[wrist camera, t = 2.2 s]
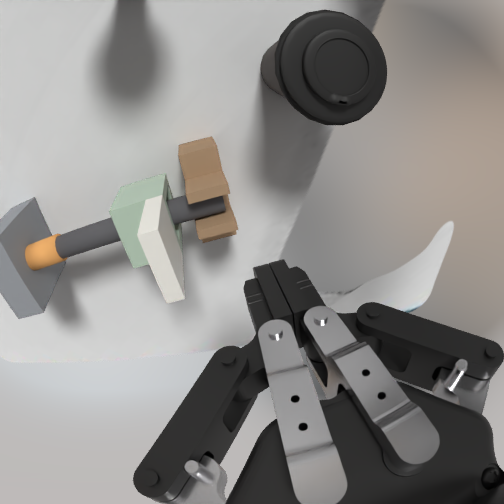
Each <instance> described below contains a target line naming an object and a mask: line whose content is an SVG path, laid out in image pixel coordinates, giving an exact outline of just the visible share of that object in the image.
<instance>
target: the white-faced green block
mask: <svg viewBox="0 0 504 504" xmlns="http://www.w3.org/2000/svg"><path fill="white" fill-rule="evenodd" d="M170 199H173V196H172V193H171V190H170V186H169V183H168V180H167V176H166V173H164V174H161V175H158V176H154V177H151V178H148V179H144V180H141V181H138V182H135V183H132V184H129V185H126V186H123V187H121V188H120V190H119V192H118V194H117V196H116V198H115V200H114V202H113V204H112V206H111V208H110V211H109V213H110V215H111V218H112V220H113V223H114V225H115V227H116V230H117V232H118V234H119V237H120V239H121V241H122V244H123V246H124V248H125V251H126V253H127V255H128V257H129V259H130V262H131V264H132V266H133V268H138V267H142V266H145V265H150V267H151V270H152V272H153V274H154V276H155V279H156V281H157V283H158V285H159V288H160V290H161V292H162V294H163V296H164V298H165V301H166V303H171V302H175V301H179V300H183V299H185V289H184V273H183V253H182V226H181V223H179V224H176V225H174V224H173V221H172V218H171V214H170V211H169V208H168V205H167V202H166V201H167V200H170Z"/></svg>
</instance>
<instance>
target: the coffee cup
mask: <svg viewBox="0 0 504 504" xmlns="http://www.w3.org/2000/svg"><path fill="white" fill-rule="evenodd" d="M261 74H262V76H263V79H264V81H265V83H266V84H267V85H268V86H269V88H271V89H272V90H274V91H275V92H277V93H278V94H280V95H282V96H283V97H285V98H287V100H288V101H289V102H290V104H291V105H292V106H293V108H294V109H296V110H297V111H299V112H300V113H301V114H303V115H304V116H305V117H307V118H308V119H310V120H313V121H316V122H319V123H322V124H325V125H345V124H348V123H351V122H354V121H357V120H359V119H361V118H362V117H363V116H365V115H366V114H367V113H369V112H370V111H371V110H372V109H373V108H374V106H375V105H376V104H377V103H378V101H379V100H380V98H381V96H382V94H383V91H384V89H385V85H386V79H387V65H386V60H385V56H384V53H383V50H382V48H381V46H380V44H379V42H378V41H377V39H376V38H375V36H374V35H373V34H372V33H371V32H370V30H369V29H368V28H366V27H365V26H364V25H363V24H362V23H361V22H360V21H358V20H356V19H354V18H352V17H350V16H348V15H346V14H344V13H342V12H336V11H330V10H320V11H314V12H308V13H306V14H304V15H302V16H300V17H299V18H297V19H295V20H294V21H292V22H291V23H290V24H289V26H288V27H287V28H286V29H285V30H284V32H283V33H282V34H281V36H280V38H279V40H278V41H277V42H276V43H275V44H274V45H272V46H271V47H270V48H269V49H268V50H267V51H266V53H265V54H264V55H263V58H262V62H261Z"/></svg>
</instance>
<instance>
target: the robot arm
mask: <svg viewBox="0 0 504 504" xmlns="http://www.w3.org/2000/svg"><path fill="white" fill-rule="evenodd" d="M253 271H254V276H255V278H254V279H251V280H247V281H245V285H244V293H245V297H246V301H247V305H248V309H249V313H250V316H251V319H252V322H253V325H254V328H255V331H256V335H255V337H254V339H253V340H252V341H251V342H250V343H249V344H247V345H245V346H244V347H242V348H239V347H236V346H227V347H223V348H221V349H219V350H218V351H217V352H216V353H215V354H214V355H213V357H212V358H211V360H210V361H209V363H208V364H207V366H206V367H205V369H204V370H203V372H202V373H201V375H200V376H199V378H198V379H197V381H196V382H195V384H194V386H193V387H192V388H191V390H190V391H189V393H188V394H187V396H186V397H185V399H184V400H183V402H182V404H181V405H180V406H179V408H178V409H177V411H176V412H175V414H174V415H173V417H172V418H171V420H170V421H169V423H168V424H167V426H166V427H165V429H164V430H163V432H162V433H161V434H160V436H159V437H158V439H157V440H156V442H155V443H154V445H153V446H152V448H151V449H150V450H149V452H148V453H147V455H146V456H145V458H144V459H143V460H142V462H141V463H140V465H139V466H138V468H137V469H136V471H135V473H134V477H133V481H134V485H135V487H136V489H137V490H138V492H140V493H141V494H142V495H144V496H146V497H149V498H151V499H152V500H154V501H156V502H159V503H162V504H504V471H503V470H502V469H501V468H500V467H499V466H498V464H497V461H496V457H495V453H494V445H493V433H492V428H491V426H490V424H489V422H488V420H487V419H486V418H485V417H484V416H483V415H482V412H483V408H484V404H485V400H486V396H487V392H488V387H489V383H490V379H491V378H492V376H493V375H494V374H495V372H496V371H497V369H498V368H499V367H500V365H501V364H502V362H503V359H504V353H503V350H502V348H501V347H500V345H499V344H497V343H496V342H494V341H491V340H488V339H485V338H482V337H479V336H476V335H473V334H470V333H467V332H464V331H461V330H458V329H455V328H452V327H448V326H446V325H442V324H440V323H436V322H433V321H430V320H427V319H424V318H421V317H418V316H415V315H412V314H409V313H406V312H403V311H400V310H397V309H394V308H391V307H388V306H385V305H382V304H379V303H375V302H369V303H365V304H363V305H361V306H360V307H359V308H358V310H357V313H346V314H342V313H336V312H335V311H334V310H333V309H331V308H329V307H326V305H325V304H324V302H323V300H322V299H321V297H320V295H319V294H318V292H317V290H316V289H315V287H314V286H313V284H312V283H311V281H310V280H309V278H308V276H307V274H306V273H305V272H304V271H303V270H302V269H300V268H298V267H293V268H290V269H289V268H288V266H287V264H286V262H285V261H284V260H279V261H275V262H272V263H269V264H265V265H261V266H257V267H254V268H253ZM302 347H304V349H305V351H306V359H307V362H308V364H309V366H310V367H311V369H312V371H313V373H314V375H315V376H316V378H317V380H318V382H319V383H320V385H321V387H322V389H323V390H324V393H325V395H326V399H327V400H320V401H319V399H318V396H317V393H316V390H315V387H314V384H313V381H312V379H311V375H310V372H309V369H308V367H307V365H305V364H304V362H303V359H302V356H301V353H300V350H299V348H302ZM393 377H394V378H397V379H400V380H402V381H405V382H408V383H410V384H413V385H416V386H419V387H421V388H424V389H427V390H430V391H432V392H433V395H431V394H429V393H426V392H424V391H422V390H419V389H416V388H414V387H412V386H409V385H407V384H404V383H402V382H398V381H395V379H394V378H393ZM269 386H270V391H271V395H272V399H273V404H274V408H275V412H276V416H277V419H275V420H274V421H273V422H271V423H270V424H269V425H268V426H267V427H266V428H265V429H264V430H263V431H262V433H261V434H260V436H259V437H258V439H257V441H256V443H255V445H254V447H253V449H252V451H251V454H250V456H249V458H248V460H247V462H246V464H245V466H244V468H243V470H242V472H241V474H240V476H239V478H238V480H237V482H236V484H235V486H234V488H233V490H232V492H231V493H230V495H229V497H228V499H227V500H226V498H225V495H224V489H225V486H226V483H227V474H226V472H225V470H224V469H223V468H222V467H221V466H220V463H221V462H222V460H223V458H224V457H225V455H226V453H227V451H228V450H229V448H230V446H231V444H232V443H233V441H234V439H235V437H236V435H237V434H238V432H239V430H240V428H241V426H242V424H243V422H244V421H245V419H246V417H247V415H248V413H249V412H250V410H251V408H252V406H253V404H254V402H255V400H256V398H257V395H258V393H260V392H262V391H263V390H264V389H266V388H268V387H269Z"/></svg>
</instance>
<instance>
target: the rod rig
mask: <svg viewBox="0 0 504 504" xmlns="http://www.w3.org/2000/svg"><path fill="white" fill-rule="evenodd" d="M178 156H179V160H180V164H181V167H182V171H183V175H184V178H185V189H186V195H185V196H181V197H177V198H174V199H170V200H167V201H166V202H167V205H168V208H169V211H170V214H171V218H172V221H173V224H174V225H176V224H179V223H183V222H187V221H190V220H194V219H195V222H196V230H197V234H198V237H199V240H201V239H202V241H203V243H205V242H209V241H213V240H217V239H220V238H224V237H228V236H232V235H235V234H236V230H238V227H237V222H236V219H235V216H234V214H233V211H232V209H231V206H230V203H229V198H228V194H230V191H229V186H228V182H227V180H226V178H225V176H224V173H223V171H222V167H221V162H220V158H219V153H218V149H217V145H216V143H215V141H214V139H213V138H212V137H208V138H204V139H200V140H196V141H192V142H188V143H185V144H181V145H179V153H178ZM118 241H121V239H120V237H119V234H118V232H117V230H116V227H115V225H114V223H113V220H112V218H108V219H105V220H102V221H99V222H96V223H93V224H91V225H88V226H85V227H82V228H79V229H76V230H73V231H71V232H68V233H65V234H62V235H61V234H56V235H53V236H52V234H51V232H50V230H49V228H48V226H47V224H46V222H45V220H44V217H43V215H42V213H41V211H40V209H39V206H38V204H37V202H36V199H35V197H34V198H32V199H30V200H28V201H25V202H23V203H21V204H19V205H17V206H15V207H13V208H11V209H10V210H9V211H8V212H7V213H6V214H5V215H4V216H3V217H2V218H1V219H0V293H1V294H2V296H3V297H4V299H5V300H6V302H7V303H8V305H9V306H10V308H11V309H12V310H13V312H14V313H15V315H16V316H17V317H18V319H21V318H25V317H29V316H32V315H36V314H40V313H44V311H45V308H46V306H47V303H48V301H49V299H50V296H51V294H52V292H53V289H54V287H55V285H56V282H57V280H58V278H59V276H60V274H61V271H62V269H63V267H64V265H65V263H66V262H65V260H67V257H70V256H73V255H76V254H80V253H83V252H86V251H89V250H92V249H95V248H98V247H101V246H105V245H108V244H111V243H114V242H118Z"/></svg>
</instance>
